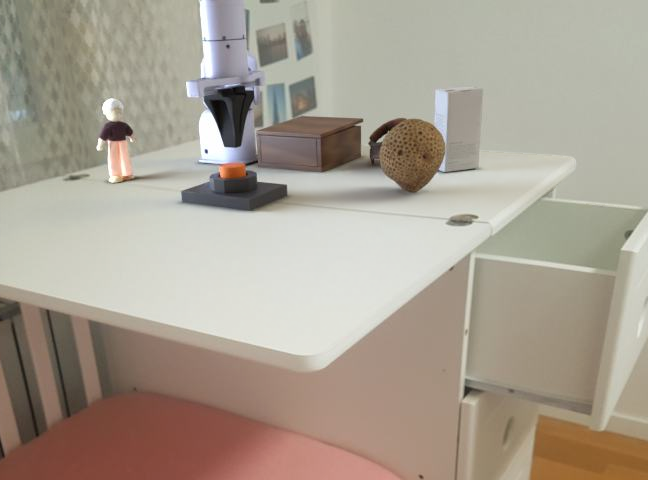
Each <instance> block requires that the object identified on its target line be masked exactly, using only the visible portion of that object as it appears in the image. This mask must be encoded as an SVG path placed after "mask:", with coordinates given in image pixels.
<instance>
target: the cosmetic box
mask: <svg viewBox="0 0 648 480" xmlns="http://www.w3.org/2000/svg"><path fill="white" fill-rule="evenodd" d="M434 97H435V98H434V124H433V125H434V126H435V127H436V128H437V130H438V131H439V132H440V133H441V134H442V137H443V139H444V142H445V155H444V159H443V162H442V164H441V166H440V168H439V170H438V171H440V172H443V173H448V172H457V171H465V170H472V169H473V170H474V169H478V168H479V164H480V147H481V134H482V133H481V132H482V116H483V99H484V87H480V86H472V85H468V86H457V87H447V88H446V87H445V88H436V89H435V96H434Z"/></svg>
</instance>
